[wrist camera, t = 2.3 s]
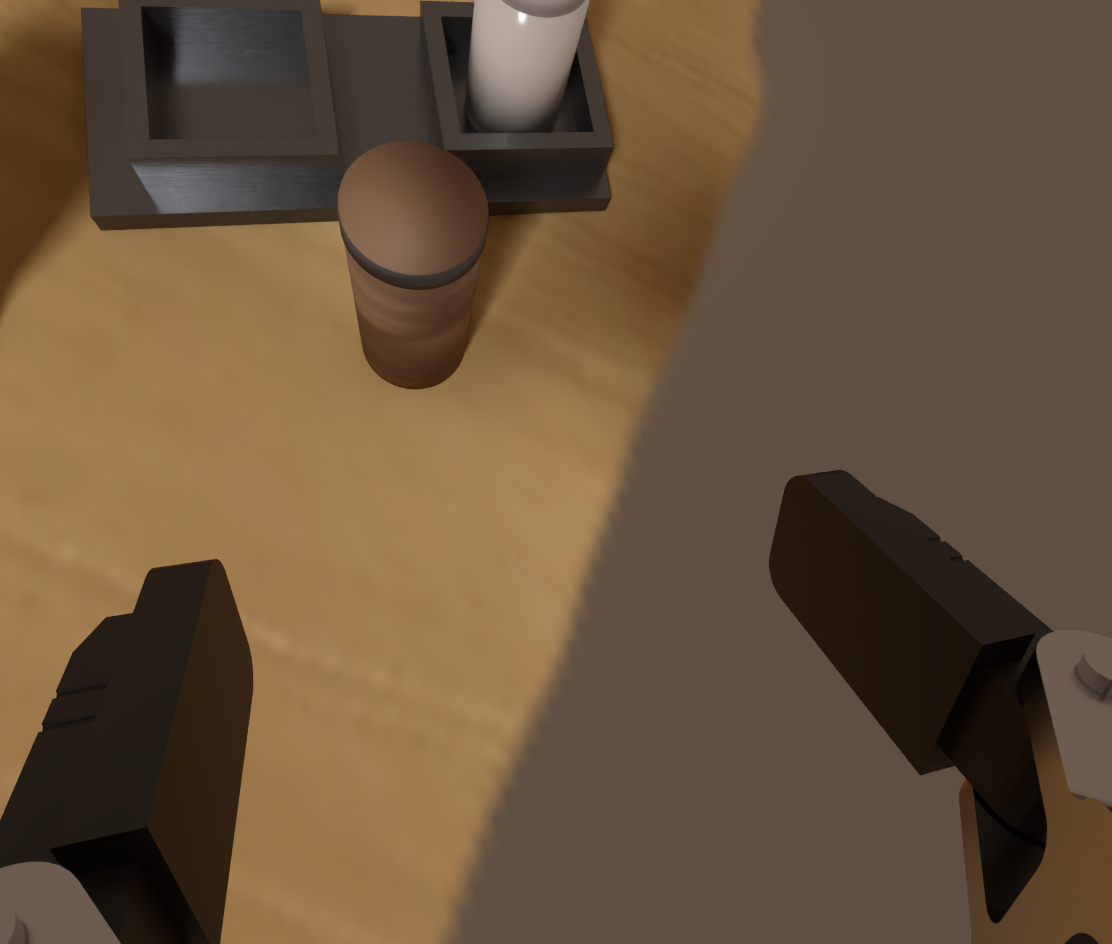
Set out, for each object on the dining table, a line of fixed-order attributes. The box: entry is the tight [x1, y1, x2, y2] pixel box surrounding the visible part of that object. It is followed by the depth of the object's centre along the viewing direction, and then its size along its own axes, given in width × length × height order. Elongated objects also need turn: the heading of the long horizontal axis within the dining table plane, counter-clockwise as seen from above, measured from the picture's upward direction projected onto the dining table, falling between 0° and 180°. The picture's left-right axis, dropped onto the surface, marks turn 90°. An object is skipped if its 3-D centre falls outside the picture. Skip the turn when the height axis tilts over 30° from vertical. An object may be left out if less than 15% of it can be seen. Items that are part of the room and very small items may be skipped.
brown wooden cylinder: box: [337, 141, 489, 389], centre depth 25 cm, size 4×4×10 cm
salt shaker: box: [465, 0, 590, 133], centre depth 29 cm, size 4×4×8 cm
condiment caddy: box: [81, 0, 614, 230], centre depth 31 cm, size 22×10×3 cm, turn 101°
